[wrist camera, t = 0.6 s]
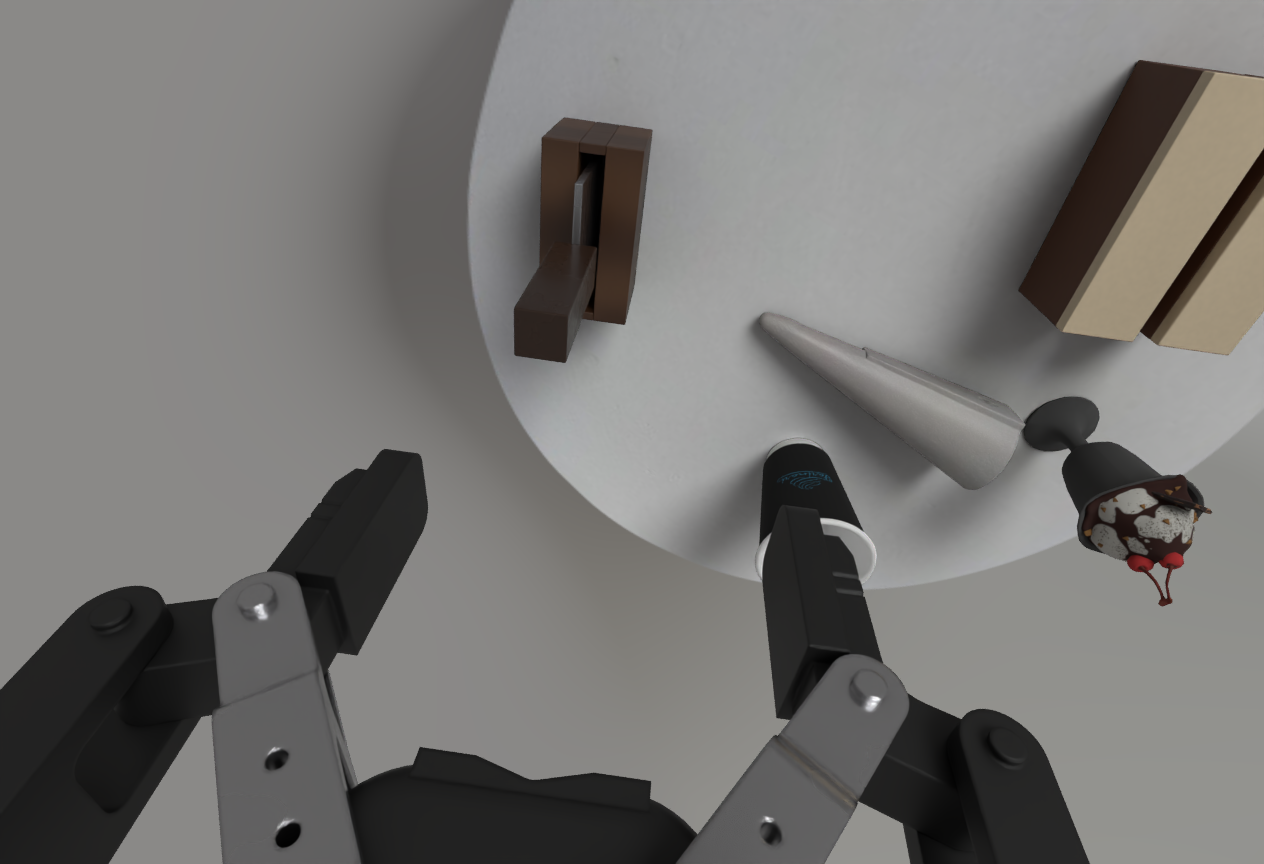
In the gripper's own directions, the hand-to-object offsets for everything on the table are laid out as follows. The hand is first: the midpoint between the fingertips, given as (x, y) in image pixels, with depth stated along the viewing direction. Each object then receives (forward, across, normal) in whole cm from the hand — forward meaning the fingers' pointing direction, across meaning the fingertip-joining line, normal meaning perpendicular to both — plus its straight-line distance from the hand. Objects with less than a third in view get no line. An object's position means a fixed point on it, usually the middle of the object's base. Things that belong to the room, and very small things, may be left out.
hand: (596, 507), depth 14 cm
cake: (+30, -29, -3) cm, 42 cm away
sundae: (+30, -32, +13) cm, 46 cm away
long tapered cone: (+30, -16, +12) cm, 37 cm away
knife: (+30, +4, +2) cm, 30 cm away
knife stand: (+30, +4, +2) cm, 30 cm away
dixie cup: (+30, -14, +20) cm, 39 cm away
